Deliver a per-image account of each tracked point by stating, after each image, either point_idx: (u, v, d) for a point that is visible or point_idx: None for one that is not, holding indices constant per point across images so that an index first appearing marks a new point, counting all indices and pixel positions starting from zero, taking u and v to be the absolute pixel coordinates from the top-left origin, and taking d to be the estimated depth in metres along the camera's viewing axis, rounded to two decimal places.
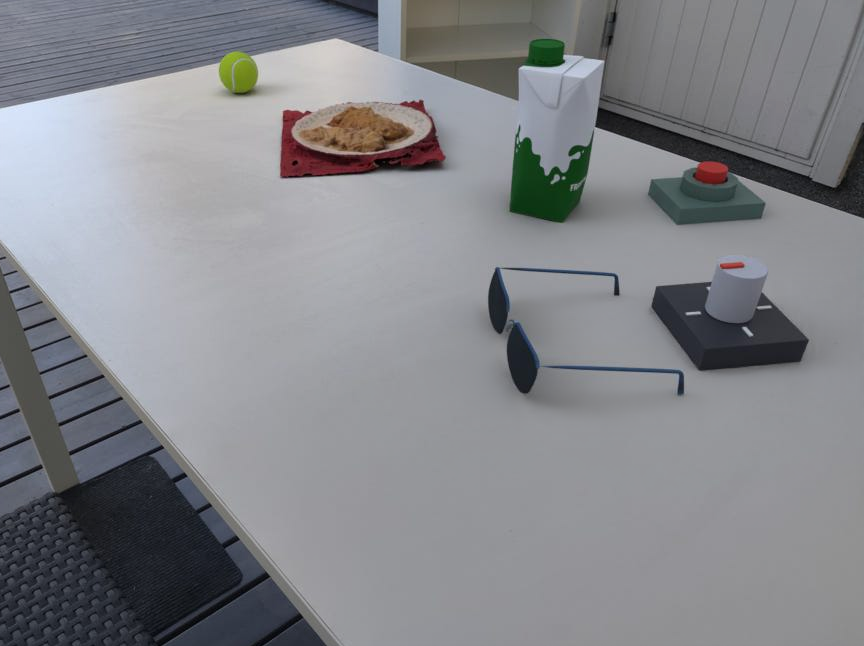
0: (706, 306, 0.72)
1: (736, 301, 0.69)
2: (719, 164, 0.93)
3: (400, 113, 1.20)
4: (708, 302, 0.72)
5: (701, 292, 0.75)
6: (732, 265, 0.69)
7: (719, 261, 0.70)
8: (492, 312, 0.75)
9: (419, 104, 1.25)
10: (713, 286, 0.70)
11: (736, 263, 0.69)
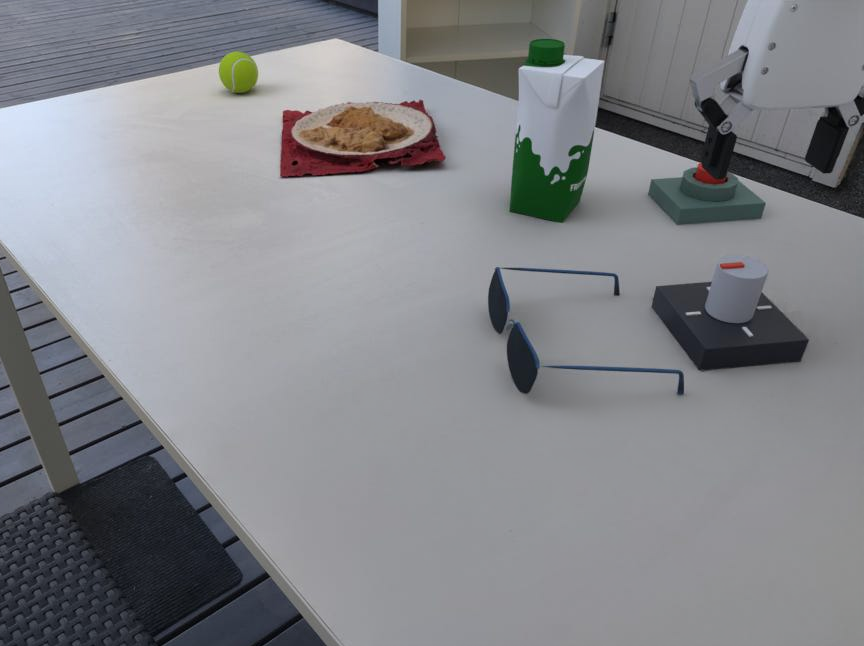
0: (706, 306, 0.72)
1: (736, 301, 0.69)
2: None
3: (400, 113, 1.20)
4: (708, 302, 0.72)
5: (701, 292, 0.75)
6: (732, 265, 0.69)
7: (719, 261, 0.70)
8: (492, 312, 0.75)
9: (419, 104, 1.25)
10: (713, 286, 0.70)
11: (736, 263, 0.69)
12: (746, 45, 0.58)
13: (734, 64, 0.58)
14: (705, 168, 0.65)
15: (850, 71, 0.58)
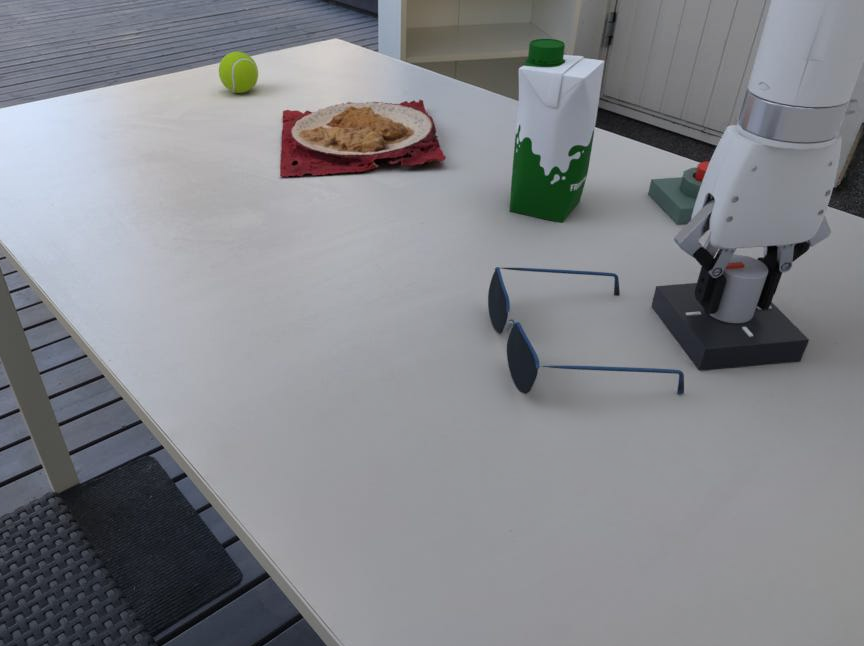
0: None
1: (736, 301, 0.69)
2: None
3: (400, 113, 1.20)
4: None
5: None
6: (732, 265, 0.69)
7: None
8: (492, 312, 0.75)
9: (419, 104, 1.25)
10: None
11: (736, 263, 0.69)
12: (712, 194, 0.64)
13: (706, 220, 0.65)
14: (698, 300, 0.72)
15: (808, 217, 0.64)
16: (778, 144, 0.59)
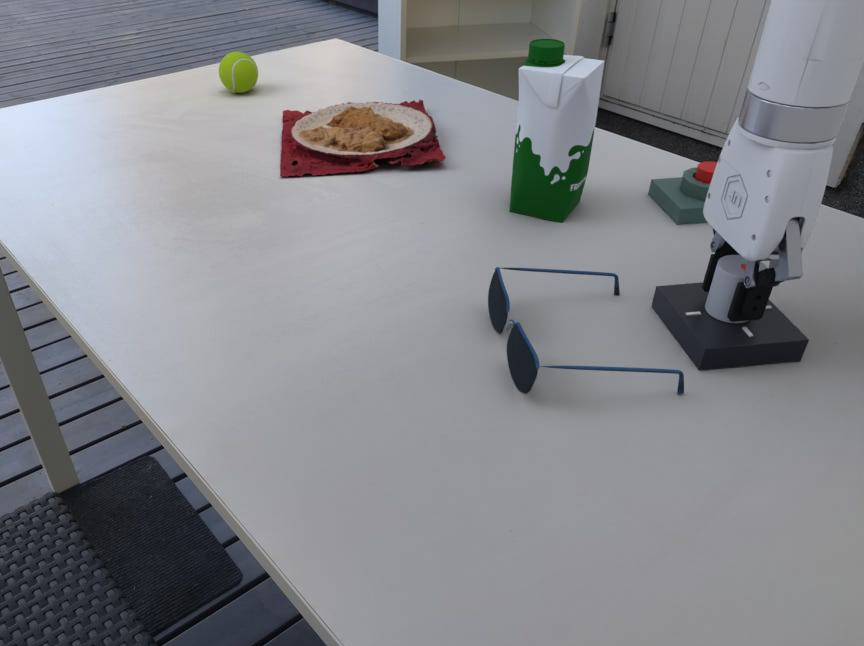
0: None
1: None
2: None
3: (400, 113, 1.20)
4: None
5: (701, 292, 0.75)
6: None
7: (740, 276, 0.68)
8: (492, 312, 0.75)
9: (419, 104, 1.25)
10: None
11: None
12: (800, 215, 0.61)
13: None
14: (737, 320, 0.69)
15: None
16: None
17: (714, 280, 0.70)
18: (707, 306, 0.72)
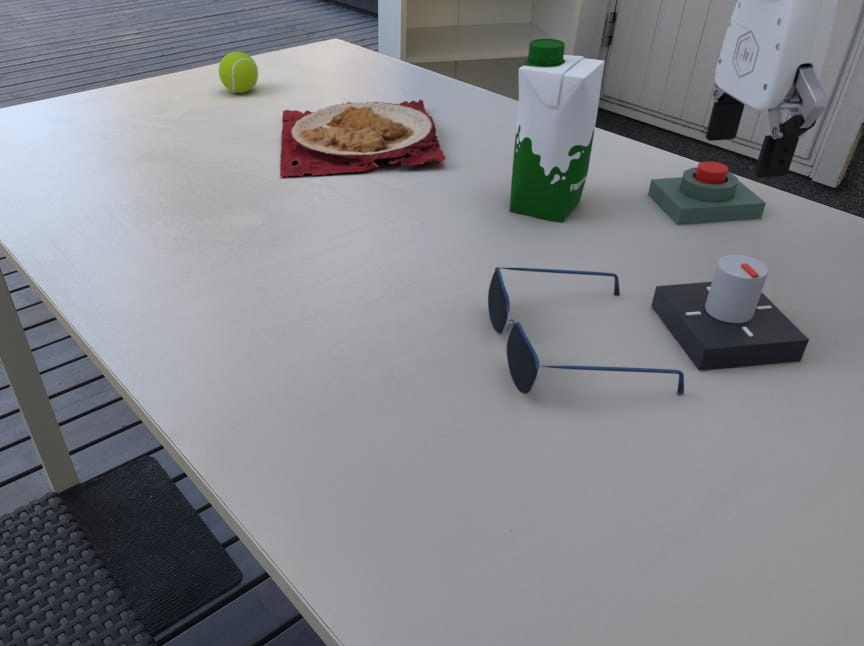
0: (736, 320, 0.70)
1: None
2: (719, 164, 0.93)
3: (400, 113, 1.20)
4: (740, 314, 0.70)
5: (701, 292, 0.75)
6: (752, 269, 0.68)
7: (741, 276, 0.68)
8: (492, 312, 0.75)
9: (419, 104, 1.25)
10: (746, 298, 0.69)
11: (747, 266, 0.68)
12: (808, 62, 0.65)
13: None
14: (764, 175, 0.72)
15: None
16: None
17: (714, 280, 0.70)
18: (707, 306, 0.72)
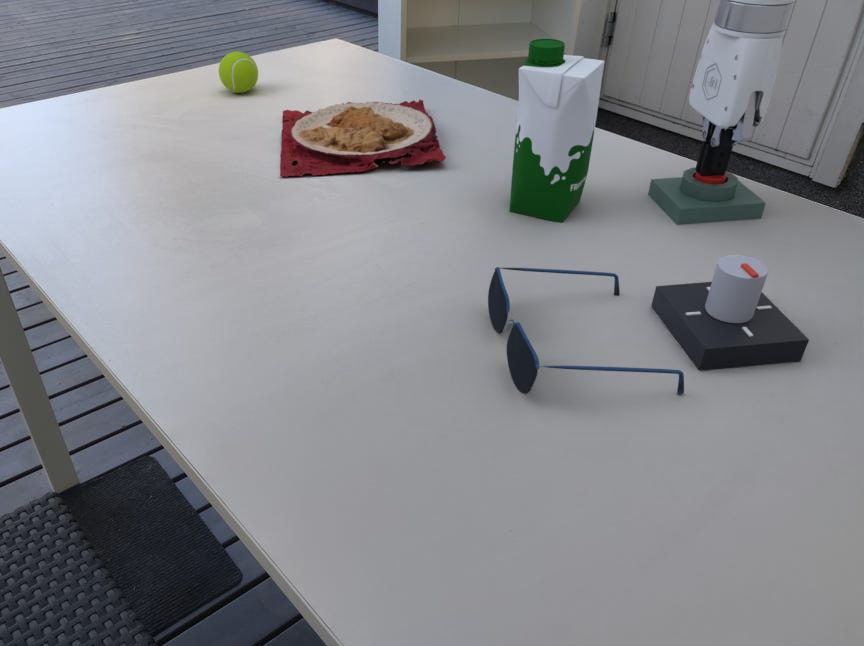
0: (736, 320, 0.70)
1: None
2: None
3: (400, 113, 1.20)
4: (740, 314, 0.70)
5: (701, 292, 0.75)
6: (752, 269, 0.68)
7: (741, 276, 0.68)
8: (492, 312, 0.75)
9: (419, 104, 1.25)
10: (746, 298, 0.69)
11: (747, 266, 0.68)
12: (759, 89, 0.82)
13: None
14: (706, 175, 0.92)
15: None
16: (785, 31, 0.81)
17: (714, 280, 0.70)
18: (707, 306, 0.72)
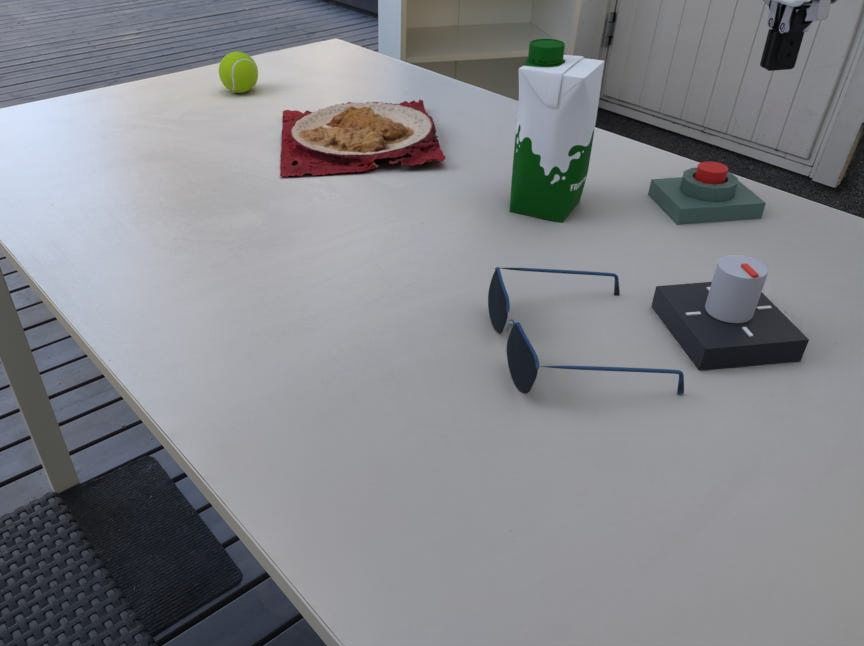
0: (736, 320, 0.70)
1: None
2: (719, 164, 0.93)
3: (400, 113, 1.20)
4: (740, 314, 0.70)
5: (701, 292, 0.75)
6: (752, 269, 0.68)
7: (741, 276, 0.68)
8: (492, 312, 0.75)
9: (419, 104, 1.25)
10: (746, 298, 0.69)
11: (747, 266, 0.68)
12: None
13: None
14: (773, 69, 0.82)
15: None
16: None
17: (714, 280, 0.70)
18: (707, 306, 0.72)
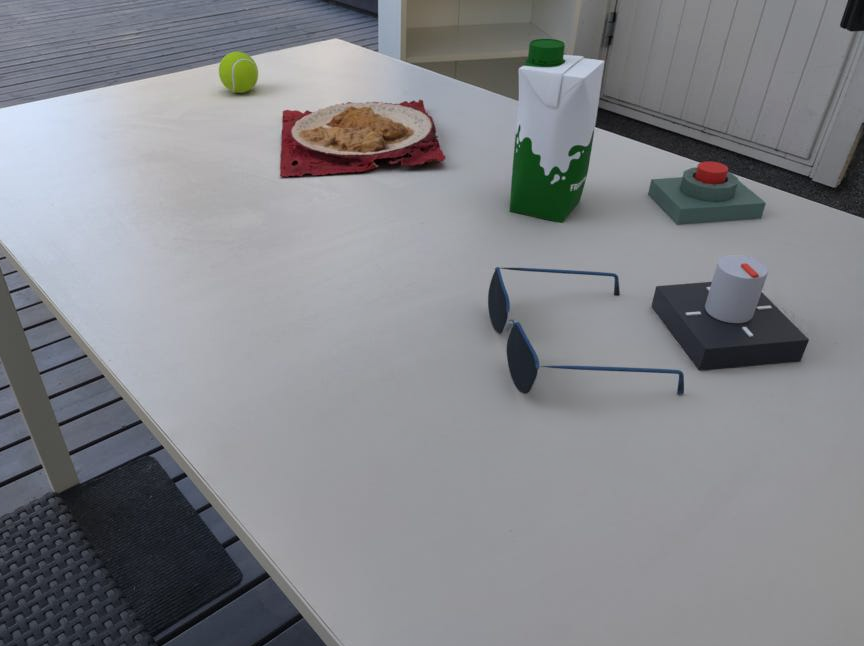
0: (736, 320, 0.70)
1: None
2: (719, 164, 0.93)
3: (400, 113, 1.20)
4: (740, 314, 0.70)
5: (701, 292, 0.75)
6: (752, 269, 0.68)
7: (741, 276, 0.68)
8: (492, 312, 0.75)
9: (419, 104, 1.25)
10: (746, 298, 0.69)
11: (747, 266, 0.68)
12: None
13: None
14: (856, 29, 0.75)
15: None
16: None
17: (714, 280, 0.70)
18: (707, 306, 0.72)
